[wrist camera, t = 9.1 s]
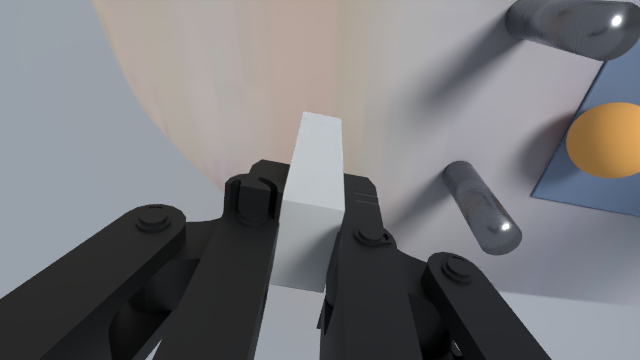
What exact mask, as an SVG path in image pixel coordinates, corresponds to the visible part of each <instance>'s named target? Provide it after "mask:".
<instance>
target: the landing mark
mask: <svg viewBox="0 0 640 360" xmlns="http://www.w3.org/2000/svg"><path fill="white" fill-rule="evenodd" d="M614 102H624V103H631V104H635V105H638V106H640V38H639V39H638V41H637V42H636V44H635V45H634V46H633V47H632V48H631V49H630V50H629V51H628V52H626V53H625V54H624V55H622V56H620V57H618V58H616V59H613V60H609V61H606V62H605V64H604V66H603V67H602V69H601V71H600V73H599V75H598V76H597V78H596V80H595V82H594V84H593V85H592V87H591V89H590V91H589V93H588V94H587V96H586V98H585V100H584V102H583V103H582V105H581V107H580V109H579V111H578V112H577V114H576V116H575V118H574V120H573V121H572V123H571V125H572V124H573V123H574V121H575V120H576V119H577V118H578V117H579V116H580V115H581V114H583V113H584V112H586V111H587V110H589V109H591V108H593V107H596V106H598V105H602V104H606V103H614ZM571 125H570V127H571ZM570 127H569V129H570ZM569 129H568V130H567V132H566V134H565V136H564V138H563V139H562V141H561V143H560V145H559V147H558V148H557V150H556V152H555V154H554V156H553V157H552V159H551V161H550V163H549V165H548V166H547V168H546V170H545V172H544V174H543V175H542V177H541V179H540V181H539V183H538V184H537V186H536V188H535V190H534V192H533V193H532V195H531V196H532V197H537V198H543V199H548V200H554V201H559V202H564V203H570V204H575V205H581V206H586V207H591V208H597V209H602V210H608V211H613V212H618V213H624V214H629V215H635V216H640V172H638V173H636V174H634V175H631V176H627V177H622V178H601V177H596V176H593V175H590V174H588V173H586V172H584V171H583V170H581V169H580V168H578V167H577V166H576V165H575V164H574V163H573V161H572V160H571V159H570V157H569V155H568V152H567V147H566V138H567V134H568V131H569Z"/></svg>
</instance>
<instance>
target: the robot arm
mask: <svg viewBox="0 0 640 360" xmlns="http://www.w3.org/2000/svg"><path fill="white" fill-rule="evenodd" d="M269 284H272V285H278V286H284V287H291V288H296V289H302V290H308V291H315V292H321V293H323V292H324V288H325V284H326V295H325V299H324V303H323V306H322V310H321V314H320V317H319V321H318V325H317V329H321V339H320V360H551V358H550V357H549V356H548V355H547V353H546V352H545V351H544V350H543V348H542V347H541V346H540V345H539V343H538V342H537V341H536V339H535V338H534V337H533V336H532V334H531V333H530V332H529V331H528V330H527V328H526V327H525V326H524V324H523V323H522V322H521V321H520V319H519V318H518V317H517V316H516V314H515V313H514V312H513V311H512V309H511V308H510V307H509V305H508V304H507V303H506V302H505V300H504V299H503V298H502V297H501V295H500V294H499V293H498V292H497V290H496V289H495V288H494V286H493V285H492V284H491V283H490V281H489V280H488V279H487V278H486V276H485V275H484V274H483V273H482V271H481V270H480V269H479V268H477V267H476V266H475V265H474V264H473V263H472V262H470V261H468V260H467V259H465V258H464V257H461V256H458V255H456V254H453V253H447V252H439V253H434V254H433V255H432V256H430V257H429V259H428V262H427V263H426V262H424V261H421V260H419V259H416V258H414V257H411V256H409V255H407V254H405V253H403V252H401V251H400V250H398V249H397V246H396V242H395V240H394V238H393V236H392V235H391V234H390V233H389V232H388V231H387V230H386V229H384V228H383V223H382V218H381V213H380V208H379V205H378V197H377V192H376V187H375V186H374V184H373V183H372V182H371V181H370V180H369V179H368V178H367V177H361V176H356V175H350V174H345V173H343V153H342V129H341V119H340V118H335V117H330V116H325V115H320V114H315V113H309V112H304V113H303V117H302V121H301V125H300V129H299V133H298V137H297V141H296V145H295V149H294V153H293V157H292V161H291V165H290V164H284V163H279V162H273V161H268V160H263V159H262V160H260V161H259V162H257V163H255V164H254V165H252V168H251V170H250V172H249V173H248V174H239V175H236V176H234V177H231V178H230V179H229V180H228V181H227V182H226V183H225V196H224V211H223V215H222V217H221V218H219V219H215V220H211V221H203V222H186V217H185V215H184V214H183V213H182V211H181V210H179V209H177V208H175V207H173V206H168V205H163V204H152V205H145V206H141V207H137V208H135V209H133V210H131V211H129V212H127V213H125V214H124V215H122V216H121V217H120V218H118V219H117V220H115V221H114V222H112V223H111V224H109V225H108V226H106V227H105V228H104V229H102V230H101V231H99V232H98V233H96V234H95V235H93V236H92V237H90V238H89V239H88V240H86V241H85V242H83V243H82V244H80V245H79V246H77V247H76V248H74V249H73V250H72V251H70V252H69V253H67V254H66V255H64V256H63V257H61V258H60V259H58V260H57V261H56V262H54V263H52V264H51V265H50V266H48V267H47V268H45V269H44V270H42V271H41V272H39V273H38V274H36V275H35V276H33V277H32V278H31V279H29V280H28V281H26V282H25V283H23V284H22V285H20V286H19V287H17V288H16V289H15V290H13V291H12V292H10V293H9V294H7V295H6V296H4V297H3V298H1V299H0V360H145V359H146V358H147V357H148V355H149V354H150V353H151V352H152V350H153V349H154V348H155V347H156V346H157V344H158V343H159V342H160V341H161V343H160V345H159V347H158V349H157V351H156V353H155V355H154V357H153V359H152V360H254V356H255V351H256V346H257V341H258V337H259V332H260V328H261V323H262V318H263V314H264V308H265V304H266V300H267V293H268V287H269ZM161 339H162V340H161ZM455 343H456V345H457V346H458V348H459V350H460V351H459V350H458V348H457V346H456V345H455Z"/></svg>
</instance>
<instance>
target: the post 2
mask: <svg viewBox="0 0 640 360" xmlns="http://www.w3.org/2000/svg"><path fill="white" fill-rule="evenodd" d="M506 28H507V30H508V32H509V33H510V34H511V35H513V36H515V37H519V38H522V39H525V40H529V41H532V42H536V43H539V44H543V45H546V46H550V47H553V48H557V49H560V50H564V51H567V52H571V53H574V54H578V55H581V56H585V57H588V58H592V59H595V60H598V61H609V60H613V59H616V58H618V57H620V56H622V55H624V54H625V53H626V52H628V51H629V50H630V49H631V48H632V47H633V46H634V45H635V44H636V42H637V41H638V39H639V38H640V8H639V7H638V6H637V5H635V4H633V3H630V2H617V1H601V0H518V1H516V2H515V3H514V4H513V5H512V6H511V8H510V9H509V11H508V13H507V16H506Z"/></svg>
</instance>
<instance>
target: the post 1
mask: <svg viewBox="0 0 640 360" xmlns="http://www.w3.org/2000/svg"><path fill="white" fill-rule="evenodd" d="M443 180H444V182H445V184H446V186H447V187H448V189H449V191H450V193H451V195H452V196H453V198H454V200H455V202H456V204H457V205H458V207H459V209H460V211H461V212H462V214H463V216H464V218H465V220H466V221H467V223H468V225H469V227H470V229H471V230H472V232H473V234H474V236H475V238H476V239H477V241H478V243H479V245H480V247H481V248H482V250H483V251H484V252H486V253H488V254H490V255H503V254H507V253H509V252H511V251H513V250H514V249H515V248H516V247H517V246H518V245H519V244H520V242H521V240H522V232H521V230H520V229H519V227H518V226H517V225H516V223H515V222H514V221H513V219H512V218H511V217H510V215H509V214H508V213H507V212H506V210H505V209H504V208H503V206H502V205H501V204H500V202H499V201H498V200H497V198H496V197H495V196H494V194H493V193H492V192H491V190H490V189H489V188H488V186H487V185H486V184H485V183H484V181H483V180H482V179H481V177H480V176H479V175H478V173H477V172H476V171H475V169H474V168H473V167H472V165H471V164H470V163H468V162H466V161H456V162H453V163H451V164H450V165H448V166H447V167H446V169H445V170H444V173H443Z"/></svg>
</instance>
